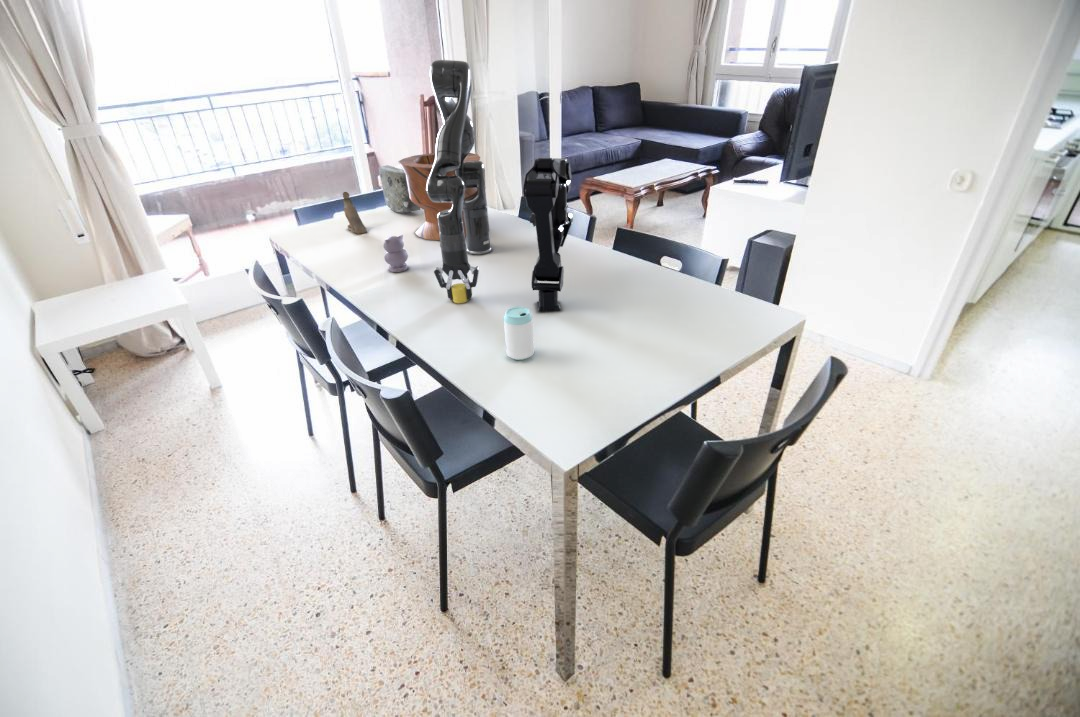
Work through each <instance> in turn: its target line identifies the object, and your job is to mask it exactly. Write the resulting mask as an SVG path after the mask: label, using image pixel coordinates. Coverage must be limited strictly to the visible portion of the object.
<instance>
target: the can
mask: <svg viewBox="0 0 1080 717" xmlns="http://www.w3.org/2000/svg"><path fill="white" fill-rule="evenodd" d="M533 320H534V318H533V315H532V314H531V311H530V309H529V308H527V307H525V306H524V307H523V306H513V307H510V308H509V309H507V310H506V311H505V315H504V317H503V327H504V340H505V354H506V356H508V357H509V358H511V359H513V360H515V361H522V360H526V359H529V358H530V357H532V356H533V355H534V353H535V342H534V340H535V339H534V321H533Z"/></svg>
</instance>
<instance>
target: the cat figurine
mask: <svg viewBox="0 0 1080 717" xmlns="http://www.w3.org/2000/svg"><path fill="white" fill-rule="evenodd" d="M403 238H404V234H401V235H398V236H396V235H391V236H388V237H387V238H385V239H384V241H383V245H382V246H383V249H384V251H385V253H384V257H383V258H384V261H385V262H386V264H388V269H389V272H391V273H402V272H404V271H407V270H408V264H407V263H406V262H407V260H408V258H409V254H408V251H407V250H406V249H404V247H405V246H404V245H405V244H404V241H403Z"/></svg>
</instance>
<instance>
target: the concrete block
mask: <svg viewBox="0 0 1080 717" xmlns="http://www.w3.org/2000/svg"><path fill="white" fill-rule="evenodd" d="M378 172H379V173H378V174H379V178H380V182H381V183H380V184H381V186H382V192H383V198H384V201H385V204H386V206H387V207H388V209H390V211H393V212H396V213H401V214H403V213H408V212H409V213H411V212H416V211H420V210H421V208H420V207H419V206H418V205H416V204H415V203H413V202H412V201H411V199H410V197H409V191H408V185H407V179H406V174H405V172H404V171H403V169H402V168H399V167H395V166H392V165H387V164H386V165H382V166H379V167H378Z"/></svg>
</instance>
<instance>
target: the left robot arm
mask: <svg viewBox="0 0 1080 717" xmlns="http://www.w3.org/2000/svg"><path fill="white" fill-rule="evenodd" d="M429 77H430V78H429V79H430V83H431V88H432V91H433V94H434V97H435V100H436V104H437V106H438V109H439V111H440V112H439V113H440V114H441V120H442V126H441V128H440V129H439V131H438V133H437V137H436V143H435V153H436V155H435V162H434V165H433V168H432V171H431V173H430V176H429V179H428V182H427V194H428V197H429V198H430V200H431V201H433V202H450V203H451V202H452V208H451V209H447V210H443V211H441V212H439V213H438V225H439V232H440V240H439V246H440V251H441V259H442V266H441V267H435V268H434V271H433V274H434V276H435V278H436V281H437V282H438V285H439V287H440V288H441V289H445V290H446V293H447V294H446V295H447V299H449V300H450V301H453V297H452V290H451V286H452V285H453V284H452V283H453V281H455V280H461V281H462V283H463V284H465V286H466V293H467V300H468V301H470V300H471V299H472V297H473V289H472V288H476V287H477V283H478V279H479V272H480V266H478V265H477V266H471V264H470V263H469V256H468V254H470V255H476V256H477V255H485V254H488V253H490V252H491V251H492V246H491V245H492V244H491V233H490V223H489V211H488V201H487V190H486V189H487V188H486V168H485V164H484V163H483V161H481V160H479V161H464V159H465V158H466V156H467V155H468V154H469V153H471V151H472V150H473V148H474V146H475V144H476V135H475V128H474V123H473V121H472V118H470V116H469V115H468V112H469V111H468V110H469V103H470V99H471V94H472V85H473V77H472V69H471V66H470V64H469V62H467V61H464V60H454V59H452V60H451V59H437V60H434V61H432V63H431V64H430V69H429ZM454 99H456V101H455V100H454ZM452 171H454V175H455V176H445V175H446V174H447V173H449V172H452ZM465 188H477V191H476V192H475V193H474V194H472V195H470V196H468V197H466V198H464V196H465ZM462 211H463V215H464V224H465V233H466V237H465V234H464V229H463V220H462ZM443 272H444V274H445V275H446V276H447V280H446V281H445V278H444V276H443ZM469 272H471V275H473V276H472V281H470V278H469V275H468V273H469Z"/></svg>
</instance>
